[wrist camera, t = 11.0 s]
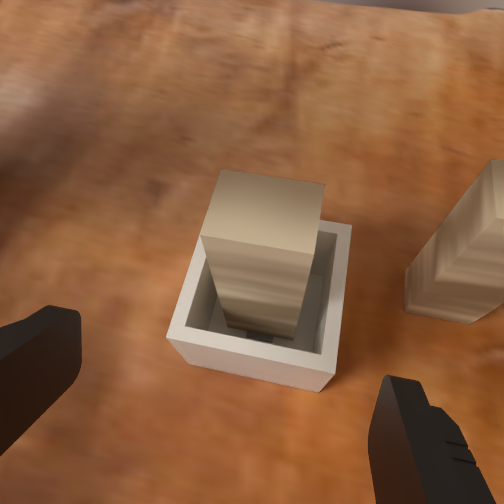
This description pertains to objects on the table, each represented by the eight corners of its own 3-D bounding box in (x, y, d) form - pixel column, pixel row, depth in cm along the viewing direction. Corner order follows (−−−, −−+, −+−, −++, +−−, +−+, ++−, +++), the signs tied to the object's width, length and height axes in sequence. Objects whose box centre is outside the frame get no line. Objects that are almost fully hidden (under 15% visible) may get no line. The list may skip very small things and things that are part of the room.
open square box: (318, 392, 22) (335, 373, 17) (188, 364, 23) (166, 337, 18) (334, 272, 26) (352, 224, 20) (221, 251, 27) (210, 201, 21)
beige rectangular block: (469, 324, 24) (611, 235, 14) (403, 312, 24) (496, 217, 14) (467, 281, 25) (595, 172, 15) (405, 270, 26) (491, 158, 16)
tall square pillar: (293, 340, 22) (314, 254, 13) (227, 327, 23) (199, 234, 13) (300, 293, 24) (325, 184, 14) (238, 282, 24) (220, 168, 15)
